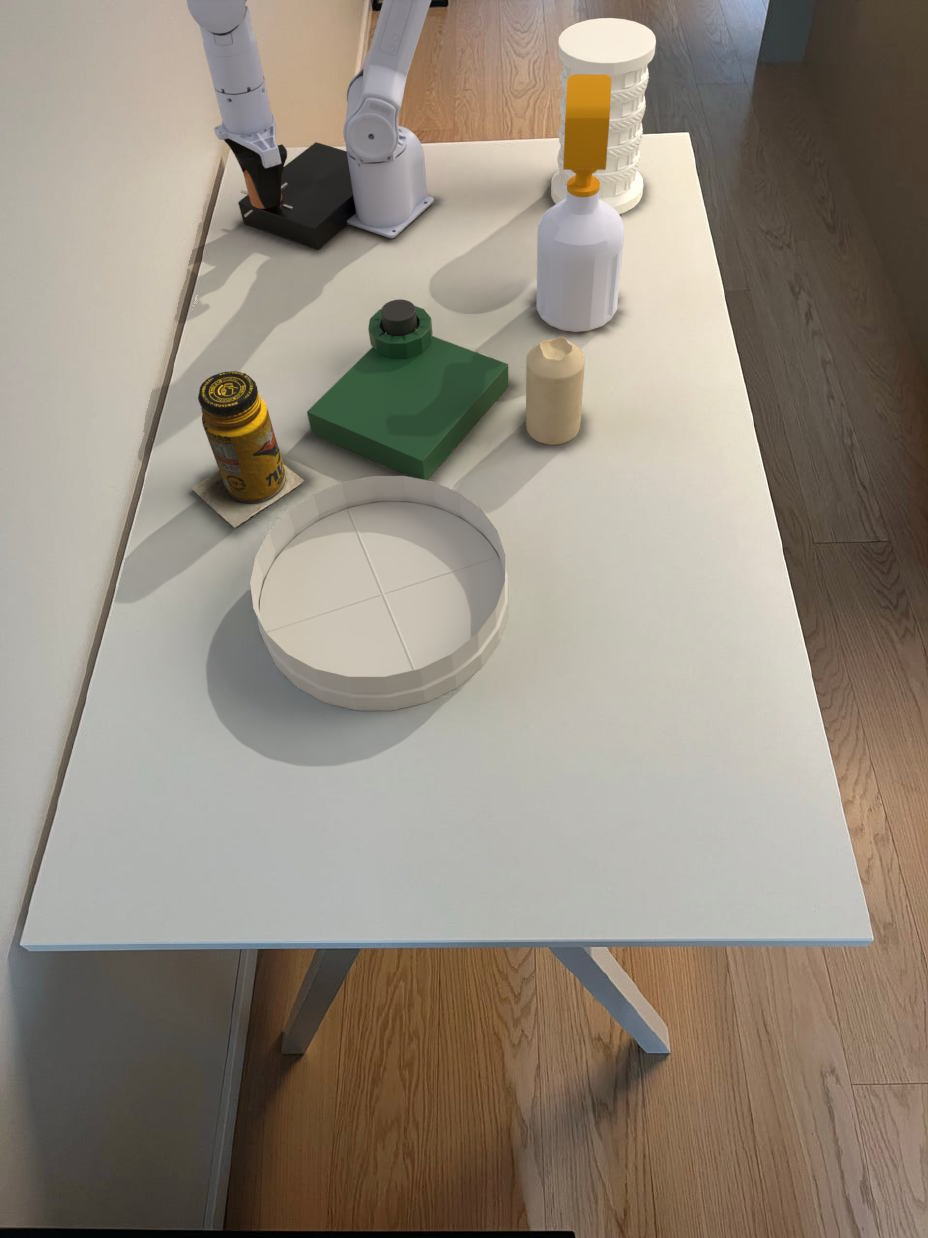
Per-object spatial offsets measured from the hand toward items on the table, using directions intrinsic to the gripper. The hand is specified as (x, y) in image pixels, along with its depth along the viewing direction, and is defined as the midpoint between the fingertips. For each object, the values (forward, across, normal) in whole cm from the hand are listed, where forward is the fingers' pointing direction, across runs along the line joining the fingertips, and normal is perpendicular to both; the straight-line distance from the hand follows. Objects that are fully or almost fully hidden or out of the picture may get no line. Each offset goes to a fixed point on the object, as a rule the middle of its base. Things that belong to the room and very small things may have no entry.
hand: (265, 196), depth 118 cm
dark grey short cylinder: (-1, +33, +3) cm, 33 cm away
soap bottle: (+4, +35, +24) cm, 42 cm away
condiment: (+4, +42, -18) cm, 46 cm away
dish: (+4, +62, -12) cm, 63 cm away
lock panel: (+4, 0, +6) cm, 7 cm away
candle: (+4, +50, +12) cm, 51 cm away
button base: (+3, +40, +1) cm, 40 cm away
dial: (0, 0, 0) cm, 0 cm away
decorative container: (+4, +16, +38) cm, 42 cm away
